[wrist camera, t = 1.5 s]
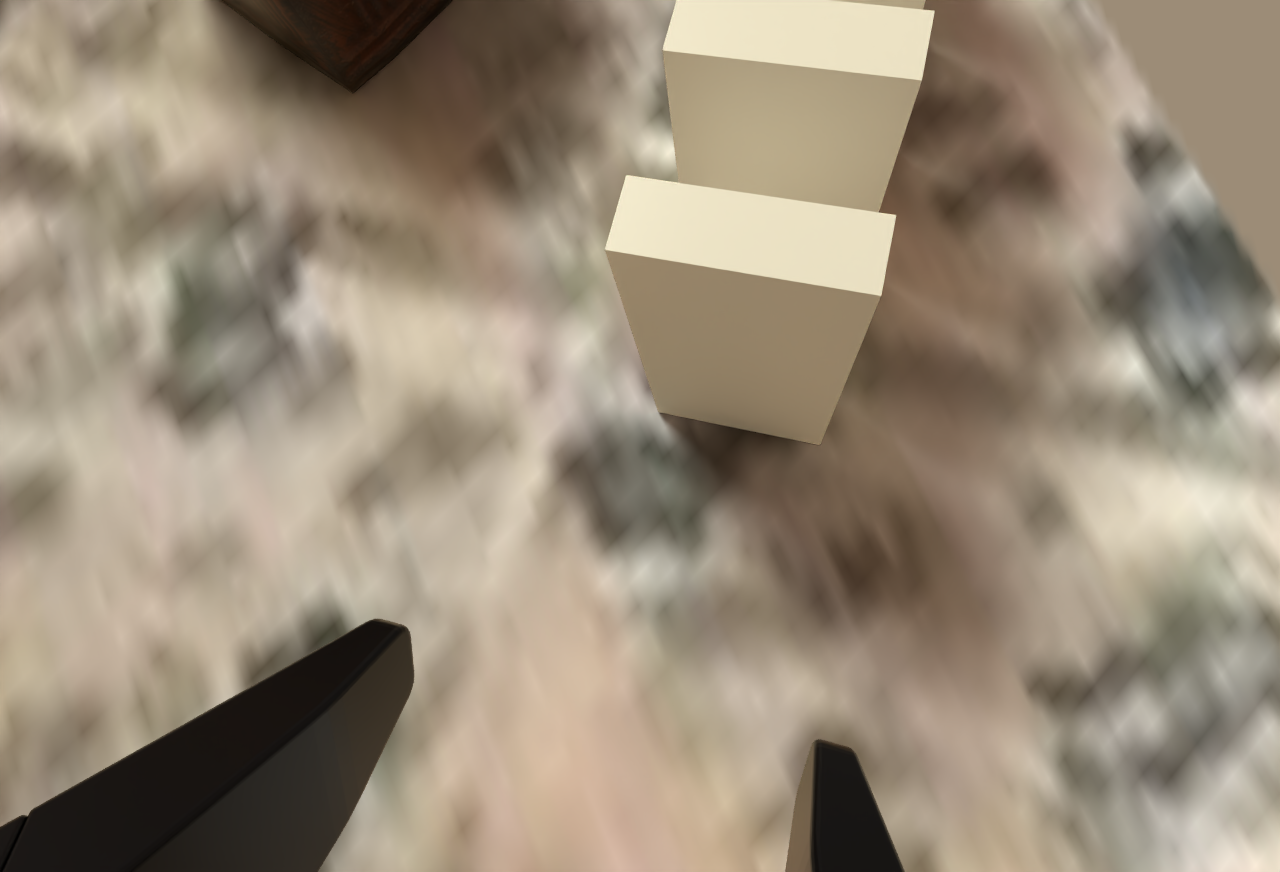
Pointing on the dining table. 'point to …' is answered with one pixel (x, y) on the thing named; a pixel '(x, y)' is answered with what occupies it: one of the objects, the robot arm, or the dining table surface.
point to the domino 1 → (793, 95)
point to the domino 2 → (746, 301)
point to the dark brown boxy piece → (342, 31)
